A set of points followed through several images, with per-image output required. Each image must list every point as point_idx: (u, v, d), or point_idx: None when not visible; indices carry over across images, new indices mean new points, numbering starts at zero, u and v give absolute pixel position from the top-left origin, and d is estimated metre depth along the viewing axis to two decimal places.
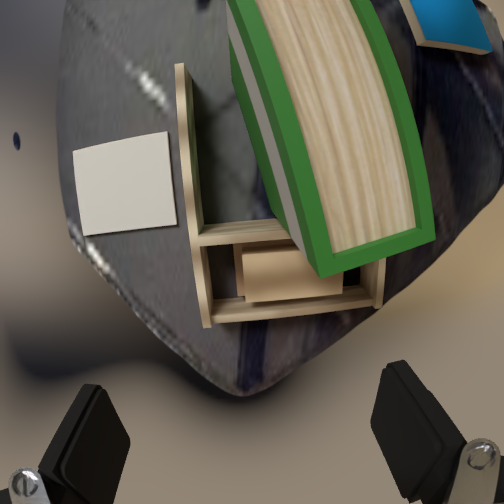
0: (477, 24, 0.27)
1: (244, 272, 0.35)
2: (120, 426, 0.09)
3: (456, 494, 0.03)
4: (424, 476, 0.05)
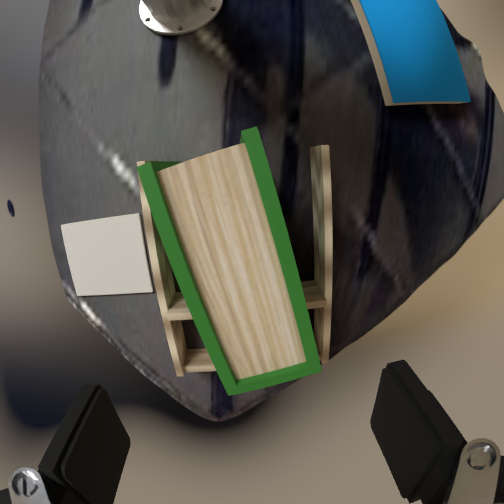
0: (456, 72, 0.33)
1: None
2: (120, 426, 0.09)
3: (456, 494, 0.03)
4: (424, 476, 0.05)
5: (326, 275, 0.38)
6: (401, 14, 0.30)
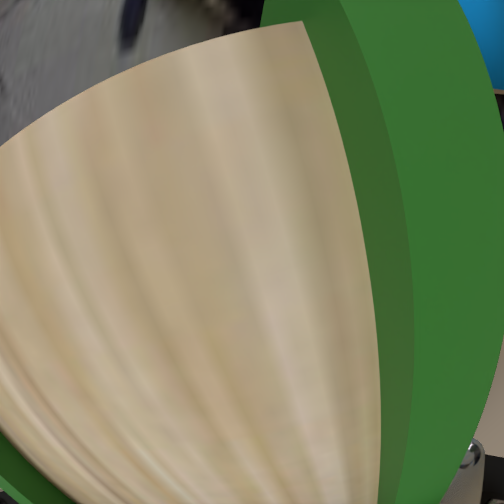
0: None
1: None
2: None
3: None
4: None
5: None
6: None
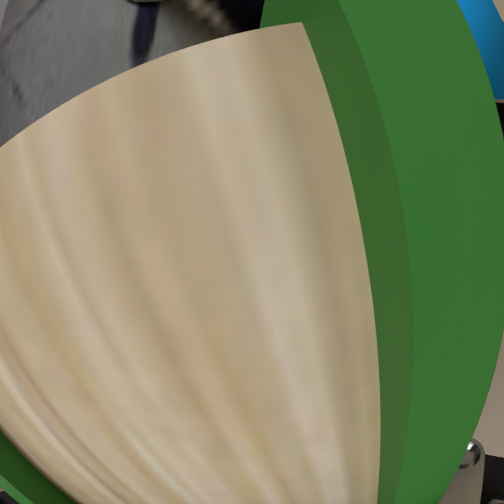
0: None
1: None
2: None
3: None
4: None
5: None
6: None
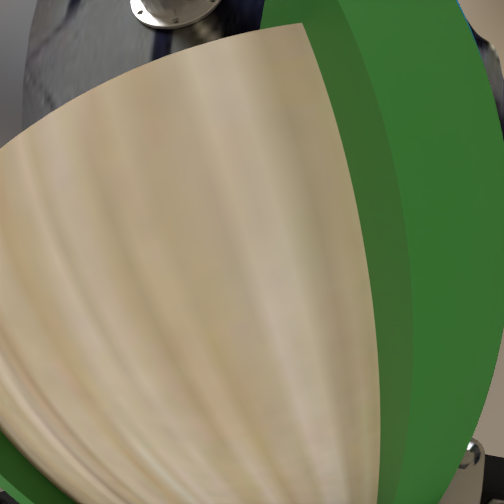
0: None
1: None
2: None
3: None
4: None
5: None
6: None
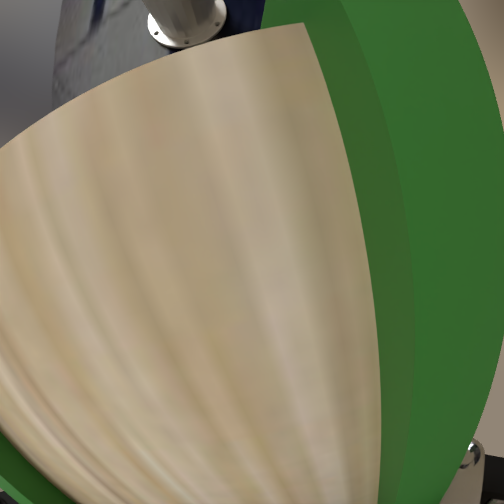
0: None
1: None
2: None
3: None
4: None
5: None
6: None
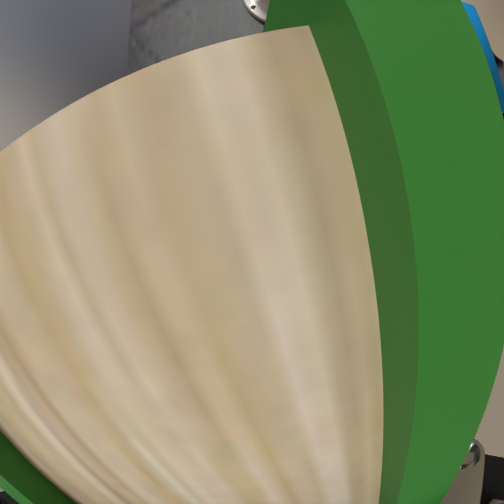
0: (498, 88, 0.36)
1: None
2: None
3: None
4: None
5: None
6: None
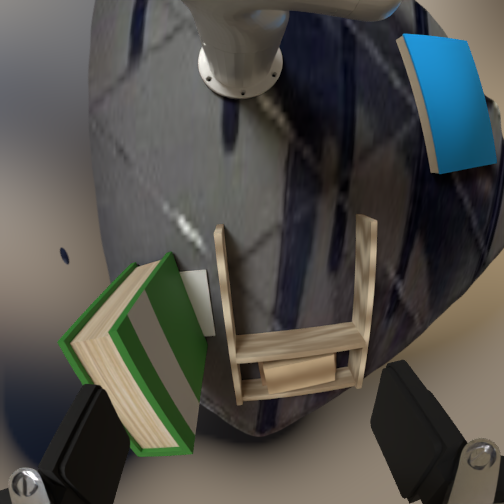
0: (487, 138, 0.39)
1: (266, 378, 0.48)
2: (120, 425, 0.09)
3: (456, 494, 0.03)
4: (424, 476, 0.05)
5: (366, 323, 0.45)
6: (448, 86, 0.37)
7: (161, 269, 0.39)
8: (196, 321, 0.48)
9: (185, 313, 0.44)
